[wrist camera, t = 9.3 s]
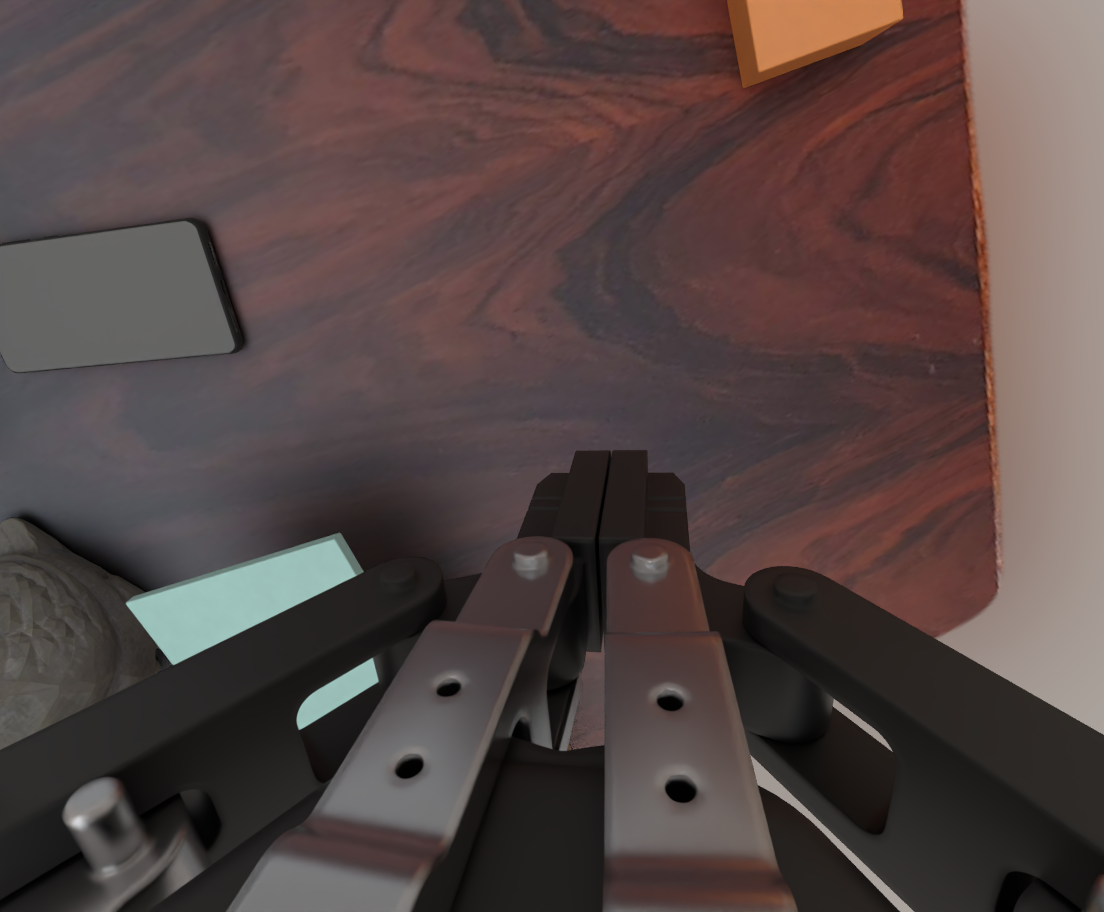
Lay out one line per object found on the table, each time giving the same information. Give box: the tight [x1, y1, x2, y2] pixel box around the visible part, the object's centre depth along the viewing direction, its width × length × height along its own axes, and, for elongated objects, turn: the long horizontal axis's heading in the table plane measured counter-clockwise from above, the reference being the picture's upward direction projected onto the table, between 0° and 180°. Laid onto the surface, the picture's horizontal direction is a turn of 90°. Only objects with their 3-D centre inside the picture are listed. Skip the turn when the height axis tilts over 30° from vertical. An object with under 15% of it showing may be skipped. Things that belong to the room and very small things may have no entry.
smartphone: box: [0, 218, 243, 373], centre depth 34 cm, size 7×1×15 cm
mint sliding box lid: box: [126, 533, 379, 730], centre depth 29 cm, size 12×14×4 cm
